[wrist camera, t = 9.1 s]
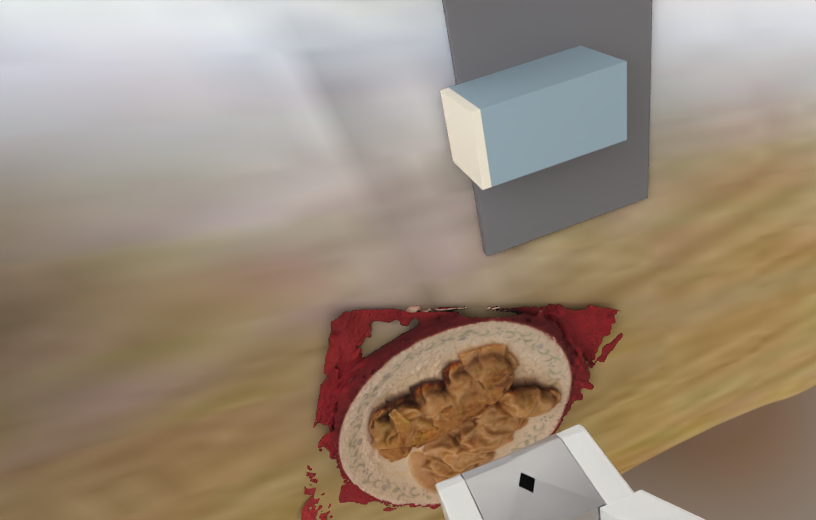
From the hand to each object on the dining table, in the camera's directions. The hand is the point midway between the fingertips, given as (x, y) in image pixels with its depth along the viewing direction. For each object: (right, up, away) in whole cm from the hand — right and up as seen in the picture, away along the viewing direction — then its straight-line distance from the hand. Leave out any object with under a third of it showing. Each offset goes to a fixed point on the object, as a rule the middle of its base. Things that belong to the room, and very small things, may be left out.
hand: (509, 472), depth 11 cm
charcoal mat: (+8, +16, +29) cm, 34 cm away
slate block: (+1, +12, +25) cm, 28 cm away
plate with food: (+2, -10, +43) cm, 44 cm away
